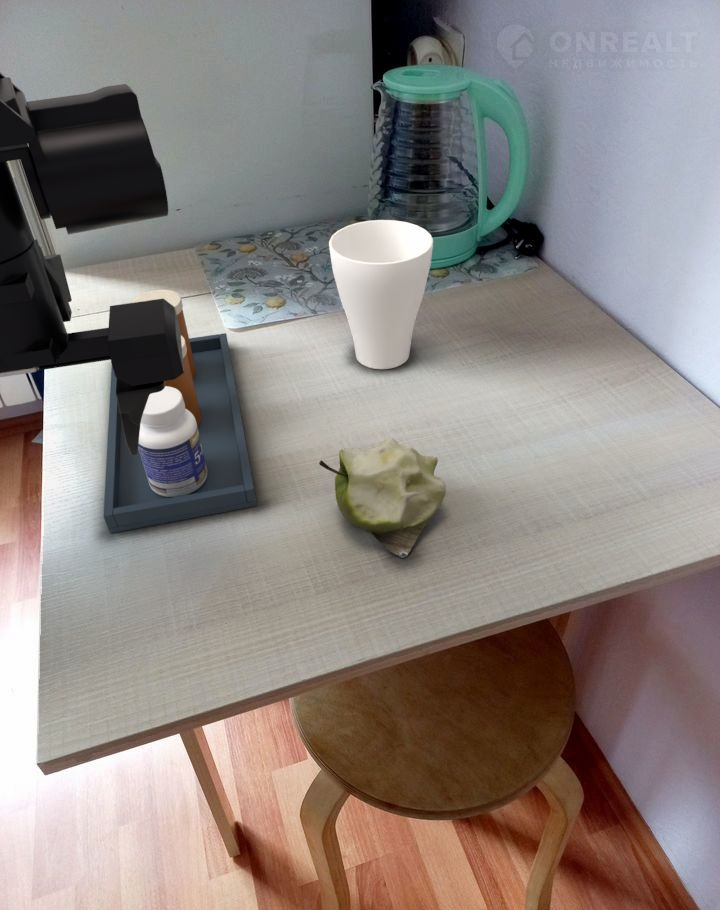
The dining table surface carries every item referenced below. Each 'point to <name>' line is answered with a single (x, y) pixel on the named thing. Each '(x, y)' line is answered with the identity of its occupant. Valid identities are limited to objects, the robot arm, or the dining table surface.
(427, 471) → the fruit
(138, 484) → the tray
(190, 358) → the amber bottle far
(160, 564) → the dining table surface
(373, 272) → the cup
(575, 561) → the dining table surface
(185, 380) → the amber bottle middle
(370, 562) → the dining table surface
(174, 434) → the pill bottle
